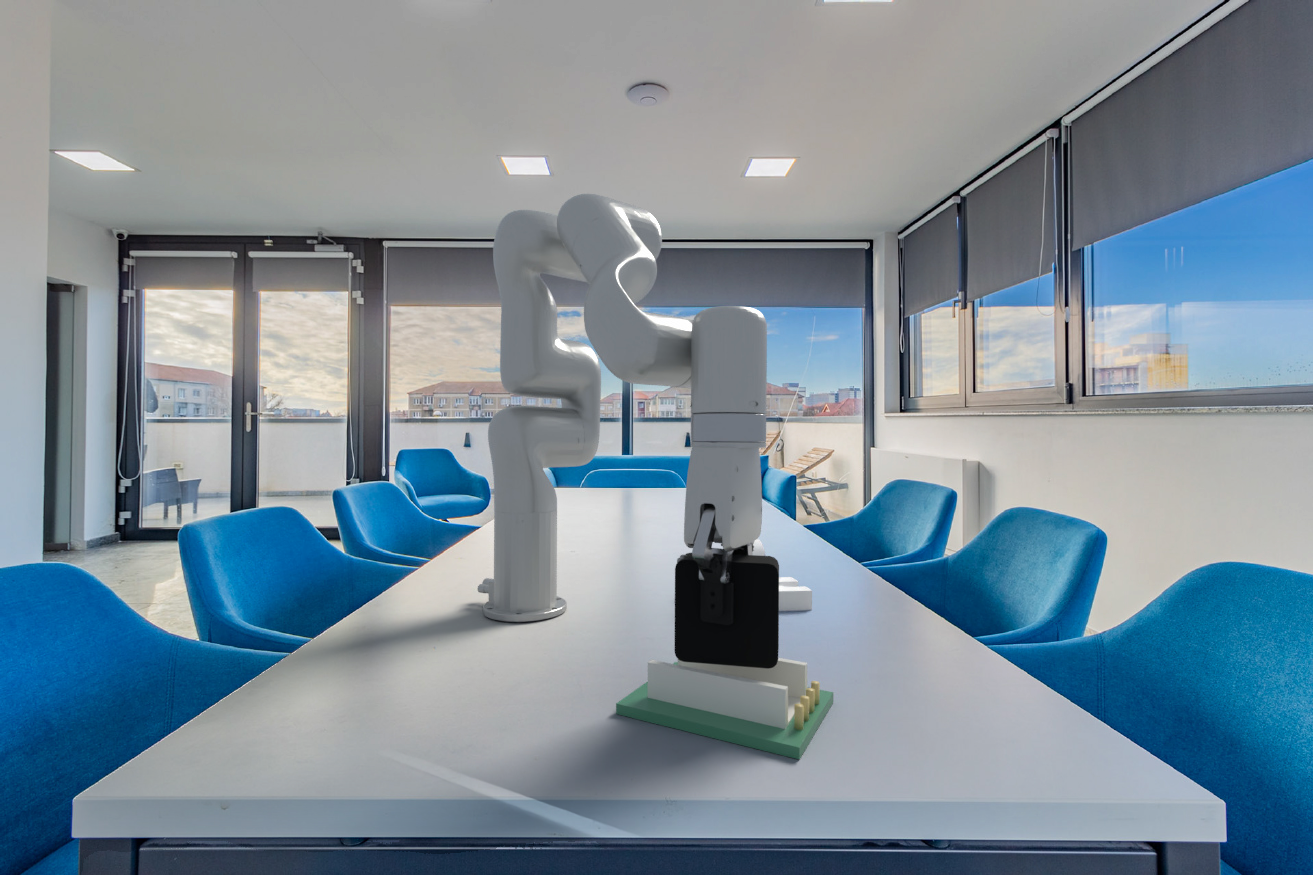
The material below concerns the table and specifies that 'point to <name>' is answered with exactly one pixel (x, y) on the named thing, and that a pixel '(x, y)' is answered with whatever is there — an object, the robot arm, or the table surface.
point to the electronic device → (753, 615)
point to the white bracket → (788, 589)
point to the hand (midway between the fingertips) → (726, 613)
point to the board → (733, 703)
